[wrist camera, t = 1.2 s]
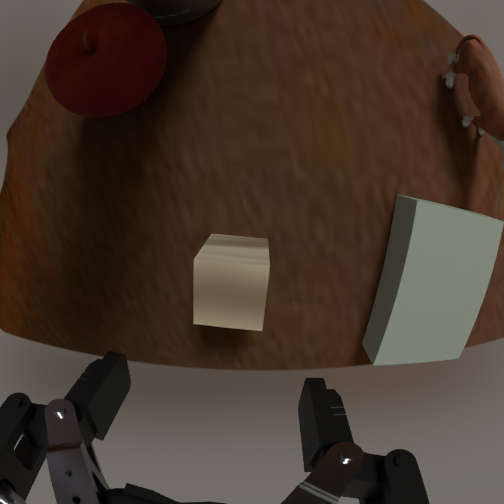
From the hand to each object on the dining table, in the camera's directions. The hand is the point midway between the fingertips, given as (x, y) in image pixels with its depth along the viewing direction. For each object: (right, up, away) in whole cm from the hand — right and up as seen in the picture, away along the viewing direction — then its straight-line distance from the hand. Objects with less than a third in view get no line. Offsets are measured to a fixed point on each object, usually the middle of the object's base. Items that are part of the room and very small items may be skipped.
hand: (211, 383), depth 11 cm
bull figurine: (+24, +21, +9) cm, 33 cm away
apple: (-9, +22, +10) cm, 26 cm away
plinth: (+20, +3, +15) cm, 25 cm away
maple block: (0, +5, +15) cm, 16 cm away
